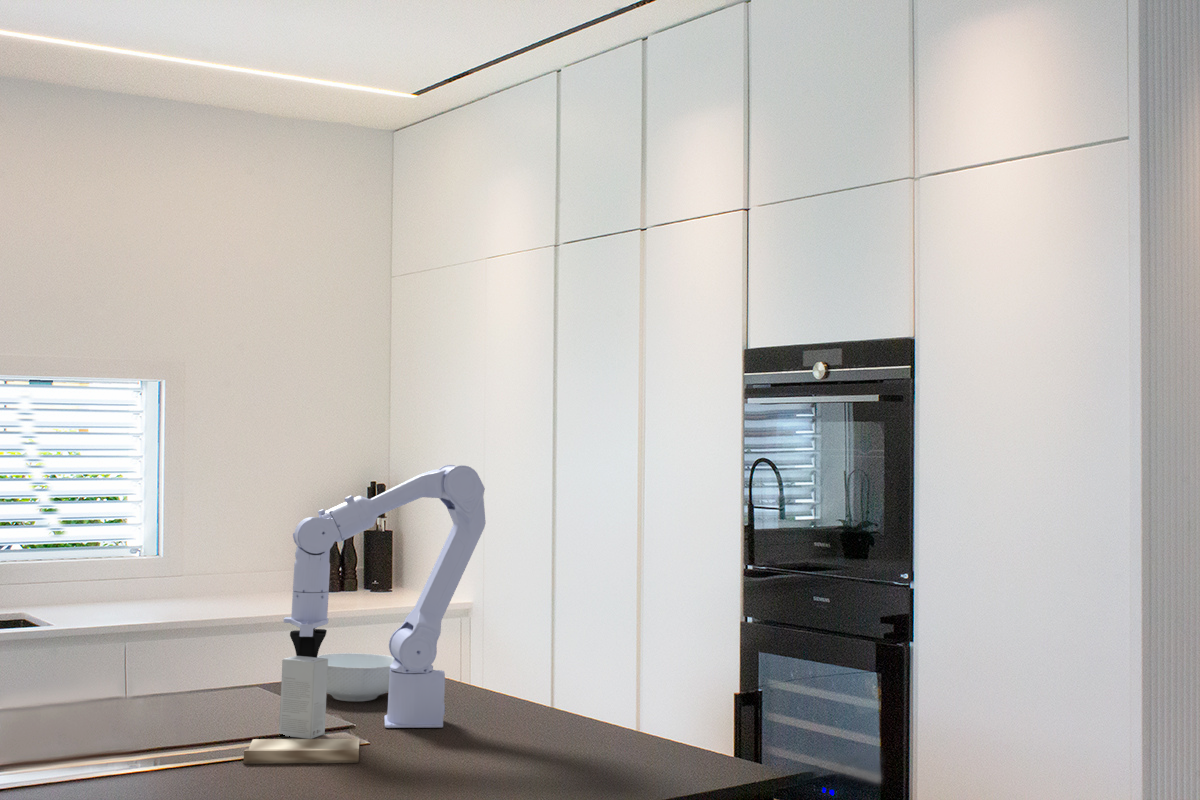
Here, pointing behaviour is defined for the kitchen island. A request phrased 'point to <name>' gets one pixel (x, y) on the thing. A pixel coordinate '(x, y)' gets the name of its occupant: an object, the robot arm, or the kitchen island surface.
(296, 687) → the skincare box
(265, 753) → the gold metal board
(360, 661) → the cereal bowl
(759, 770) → the kitchen island surface
